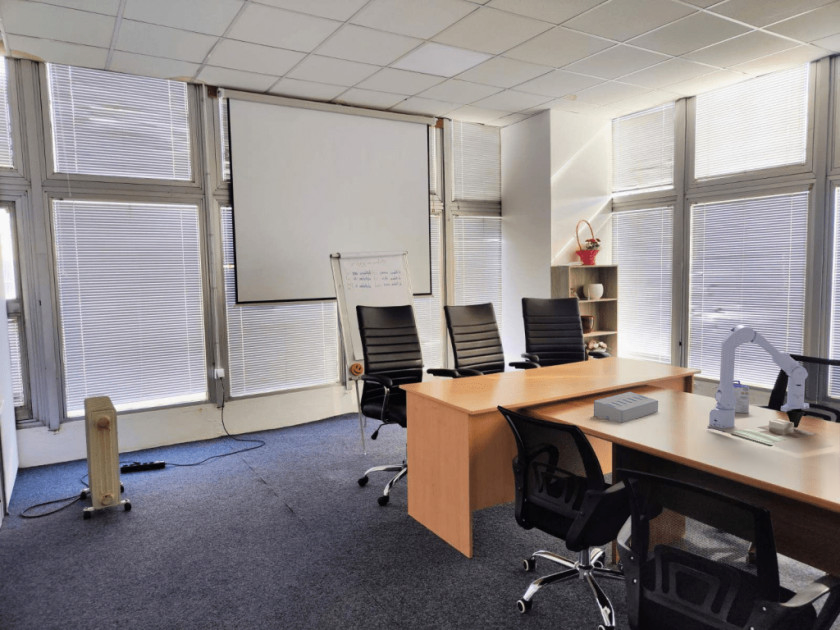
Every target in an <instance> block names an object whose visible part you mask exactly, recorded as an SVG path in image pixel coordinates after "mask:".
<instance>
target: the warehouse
mask: <svg viewBox="0 0 840 630" xmlns="http://www.w3.org/2000/svg"><path fill="white" fill-rule="evenodd" d="M658 411H659V400H657V399H653V398H651V397H648V396H644V395H642V394H638V393H636V392H632V391H626V392H624V393H620V394H615V395H612V396H607V397H604V398H599V399H596V400H593V417H595V418H601V419H604V420H608V421H614V422H617V423H625V422H627V421H628V422H629V421H632V420H635V419H637V418H641V417H644V416H648V415H651V414H654V413H658Z"/></svg>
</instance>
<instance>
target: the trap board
mask: <svg viewBox="0 0 840 630" xmlns="http://www.w3.org/2000/svg"><path fill="white" fill-rule="evenodd" d="M757 428H759V429H762V430H760V431H757V430H751V429H749V428H746V429H739V430H733V431H732V430H731V432H732V433H731V436H733V437H736V438H740V439H744V440H747V441H750V442H754V443H756V444H759V445H764V446H767V447H774V445H772V444H770V443H775V442H781V441H786V439H784V438H781V437H780V436H787V437H791V438H796V439H799V438H803V437H804V438H805V437H808V436H809V437H810V436H815V435H818V433H816V432H812V431H807V430H804V429H800V428H794V432H793V433H788V434H780V433H777V432H773V431H769V424H768V425H763V426H758V427H757ZM738 434H739V435H738Z"/></svg>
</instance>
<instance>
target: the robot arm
mask: <svg viewBox="0 0 840 630" xmlns="http://www.w3.org/2000/svg"><path fill="white" fill-rule="evenodd" d="M749 342H750V343H753V344H756V345H757V346H759V347H761V349H762V350H764V351H765V352H767V353H768V354H769V355H770V356H771V361H772V362H773V363H774V364H776V365H777V366H778V367H779V368H780V369H781V370H782V371H783V372H785V374H786V376H788V377H787V396H786V403H785V404H784V405H781V406H780V411H781V412H785V414H786V416H787V418H788V421H789V422H793V423H794V428H797V429H799V428H798V427H799V425H800V423H801V420H802V418H803V416H804V415H805V413H806V409H810V403H807V402H805V392H806V391H805V387H806V385H805V384H806V382H805V381H806V379H807V378H808V376H809V372H808V371H807V369H806V368H805V367H804V366H802V365H800V362H799V361H798V360H797V361H796V360H795V359H794V358H793V357H791V354H790V353H789V352H788V351H784V350H778V348H776V347H775V346H774V345H773V344H772V343H771V342H770V341H769V340H767V339H766V338H765V336H763V335H762V334H761V333H759V332H757V331H756V330H754V329H753V328H752V327H749V326H746V325H743V324H737V325H735V326H734V327H732V328H730V329H729V332H728V333H727V334H726V336H725V337H724V338H723V340H722V342H721V348H720V350H721V351H720V369H719V372H720V373H719V385H718V386H717V391H716V393H715V394H714V399H715V401H716V404H715V407H714V408H713V409H711V410H710V412H709V420H708V421H709V424H708V425H707V428H710V429H712V430H715V431H716V430H717V431H720V432H722V433H723V432H724V433H725V432H726V431H725V430H723V429H726V428H734V427H735V420H736V419H735V418H736V412H735V405H736V403H737V400H736V398H735V395H734V393H735V392H734V387H733V383H734V382H733V381H734V380H735V358H736V349H737V348H738V347H740V346H741V345H744V344H746V343H747V344H748V343H749ZM718 428H719V429H718Z"/></svg>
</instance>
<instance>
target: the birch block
mask: <svg viewBox="0 0 840 630" xmlns="http://www.w3.org/2000/svg"><path fill="white" fill-rule="evenodd" d="M768 425H769V431H773V432H777V433H780V434H788V433H793V432H794V423H793V422H790V421H789V420H784V419H780V418H778V419H771V420H769V422H768Z"/></svg>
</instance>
